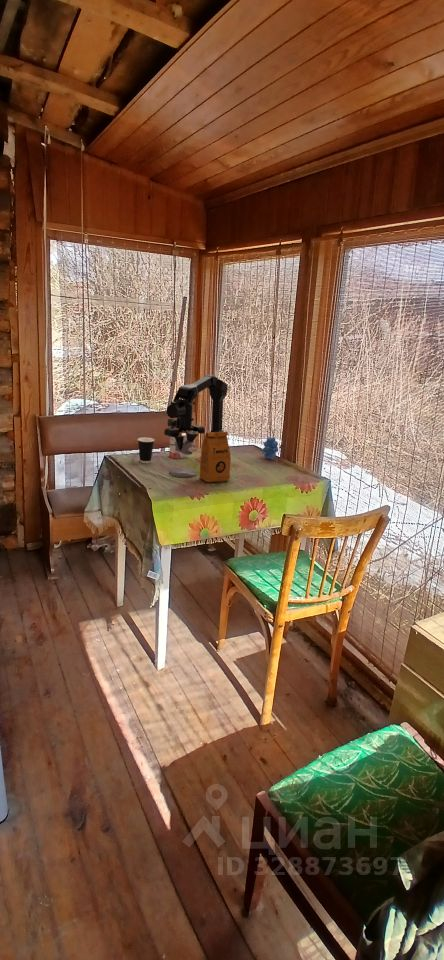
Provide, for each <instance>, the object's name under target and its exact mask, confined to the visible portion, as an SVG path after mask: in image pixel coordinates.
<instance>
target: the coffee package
mask: <svg viewBox="0 0 444 960" xmlns="http://www.w3.org/2000/svg"><path fill="white" fill-rule="evenodd" d="M228 435H229V432H228V431H223V432H211V431H210V432H205V433H204V437H203V438H204V439H203V441H202V445H201V449H200V450H201V451H200V452H201V453H200V464H199V466H200V467H199V479H200V480H203V481H204V482H207V483H216V482H217V483H221V482H229V480H230V477H231V460H232V459H231V458H232V457H231V455H232V454H231V450H230V445H229V440H228V439H229V438H228V437H227V436H228Z"/></svg>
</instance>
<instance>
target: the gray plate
mask: <svg viewBox="0 0 444 960" xmlns="http://www.w3.org/2000/svg"><path fill="white" fill-rule="evenodd" d="M168 472H169V475H171V476H173V477H176V478H182V479H183V478H193V477H195V476H196V475H197V472H196V471H195V470H194V469H191V468H186V467H184V468H183V467H177V468H176V467H174V468H172V469H169V471H168Z"/></svg>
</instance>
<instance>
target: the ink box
mask: <svg viewBox="0 0 444 960" xmlns="http://www.w3.org/2000/svg"><path fill="white" fill-rule="evenodd" d="M182 436H184V439H185V440H187V436H186V433H182ZM175 445H176V439H175V438H174V437H170V436H169V454H168V456H169V457H170V458H172V459H182V458H189V455H187V454H183V453H181V452H178V451H176V450H175Z"/></svg>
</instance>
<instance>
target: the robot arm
mask: <svg viewBox="0 0 444 960" xmlns="http://www.w3.org/2000/svg"><path fill="white" fill-rule="evenodd" d="M206 389H208V391H209V396H210V398H211V399H212V412H211V413H212V414H211V415H212V417H211V420H212V421H211V422H212V423H211V430H210V432H224V430H223V417H224V416H223V411H224V409H223V408H224V400H225V398H226V396H227V394H228V389H229V388H228V384H227V383H226V382H225V381H223V380H221V379H220V378H218V377H217V376H215V375H212V374H205V375H204V376H203V377H202V378H200V379H198V380H196V381H195V382H193V383H190V384H183V385H181V386H179V387H178V389H177V391H176V394H175V396H174V398H173V400H172V401H171V402H170V405H168V406H167V408H166V415H167V416H168V419H167V426H168V427H167V428H165V429H164V431H163V435H164V436H167V437H169V438H170V437H174V438H175V439H176V442H177V445H178V448H179V450H181V449H182V445H183V439H184V436H182V433H186V436H187V440H188V441H191V442H193V443H194V441H195V439H196V438H197V437H198V436H199V434H206V432H205V430H206V429H205V427H204V426H202V425H199V424H193V421H195V419H194V418H193V407H194V406H193V405H196V402H195V401H194V400H195V399H196V398H197V397H198V395H199V393H201V392H202V391H204V390H206ZM174 419H176V420H174Z"/></svg>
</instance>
